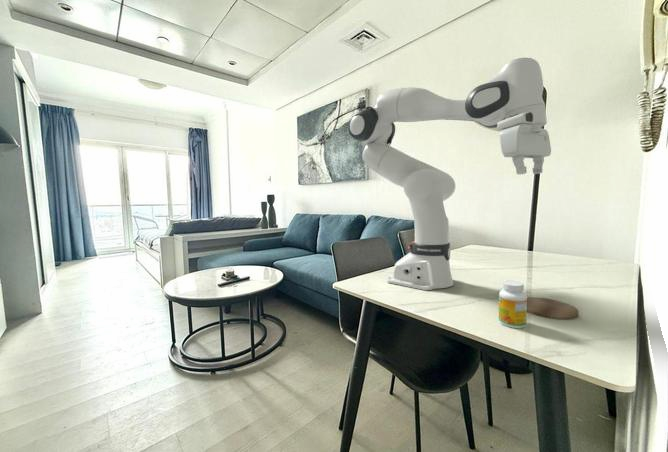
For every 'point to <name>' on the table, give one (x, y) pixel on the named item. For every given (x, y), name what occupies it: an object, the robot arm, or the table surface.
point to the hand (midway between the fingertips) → (530, 173)
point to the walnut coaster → (551, 308)
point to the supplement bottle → (512, 304)
